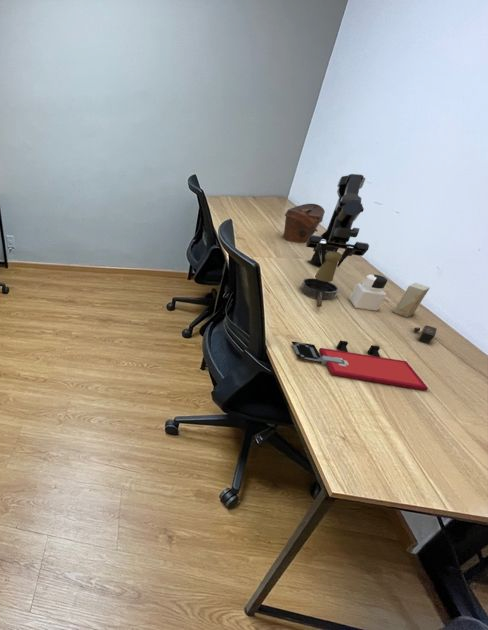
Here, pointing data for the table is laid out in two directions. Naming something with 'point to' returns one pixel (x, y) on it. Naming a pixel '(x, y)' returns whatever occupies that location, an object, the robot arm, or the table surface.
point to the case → (302, 222)
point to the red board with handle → (362, 365)
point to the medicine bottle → (369, 293)
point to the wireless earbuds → (426, 333)
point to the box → (411, 299)
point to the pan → (319, 288)
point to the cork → (328, 266)
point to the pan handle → (319, 299)
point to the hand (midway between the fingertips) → (329, 265)
